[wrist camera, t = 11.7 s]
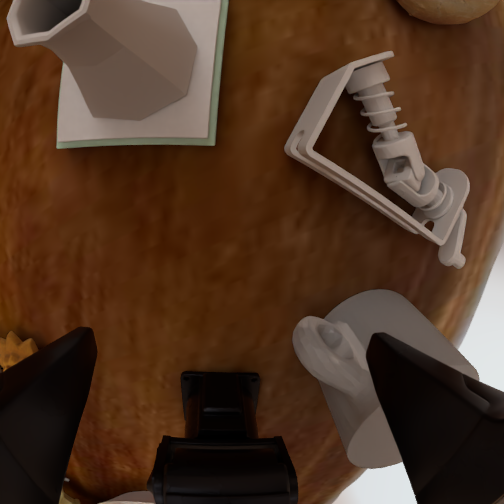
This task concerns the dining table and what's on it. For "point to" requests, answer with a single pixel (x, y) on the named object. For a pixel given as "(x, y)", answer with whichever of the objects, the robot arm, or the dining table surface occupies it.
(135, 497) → the white plate
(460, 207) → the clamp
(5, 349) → the gear puzzle
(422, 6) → the bread roll
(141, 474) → the dining table surface
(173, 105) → the scale
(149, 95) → the flask
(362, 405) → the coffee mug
